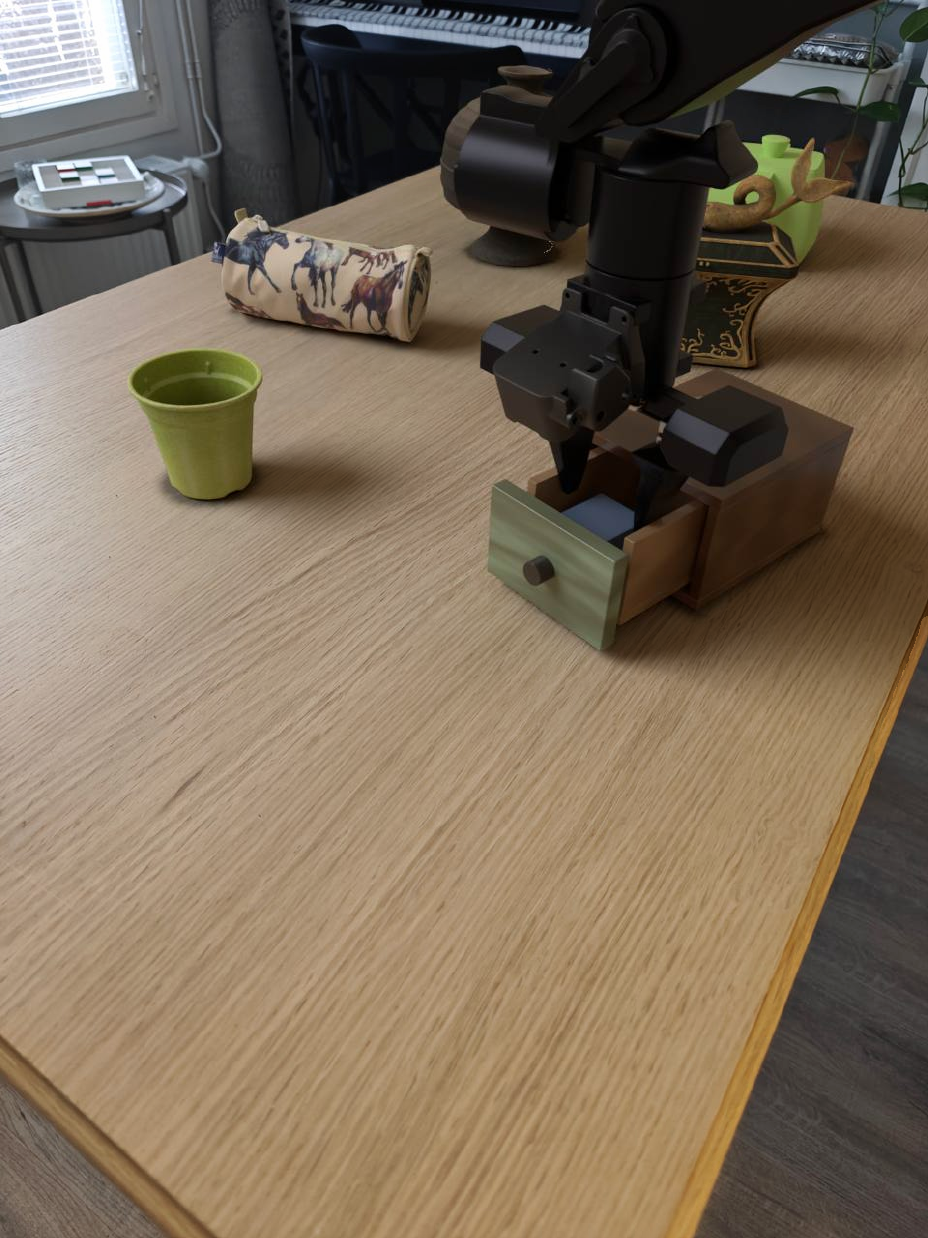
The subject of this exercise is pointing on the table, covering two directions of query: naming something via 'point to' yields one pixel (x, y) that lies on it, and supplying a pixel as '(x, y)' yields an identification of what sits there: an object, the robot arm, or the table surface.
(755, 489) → the cabinet
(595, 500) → the block
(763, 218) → the decorative box
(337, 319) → the pencil case
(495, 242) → the pot
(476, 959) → the table surface
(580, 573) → the drawer
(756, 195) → the teapot
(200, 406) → the plant pot
